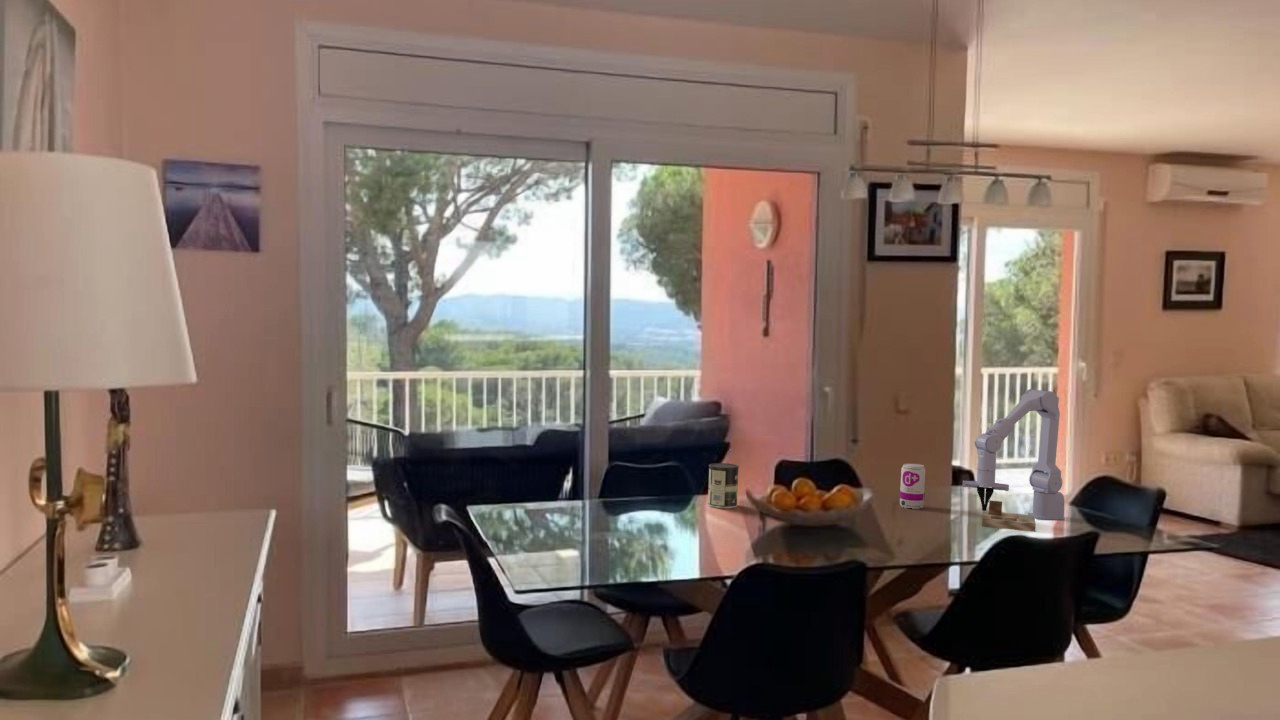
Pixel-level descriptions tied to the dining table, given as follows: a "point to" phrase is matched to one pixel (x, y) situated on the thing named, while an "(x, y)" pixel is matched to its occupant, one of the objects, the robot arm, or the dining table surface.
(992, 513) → the walnut block
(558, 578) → the dining table surface
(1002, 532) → the dining table surface
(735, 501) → the coffee can
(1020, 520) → the wooden board
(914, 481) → the supplement can
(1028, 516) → the pad
